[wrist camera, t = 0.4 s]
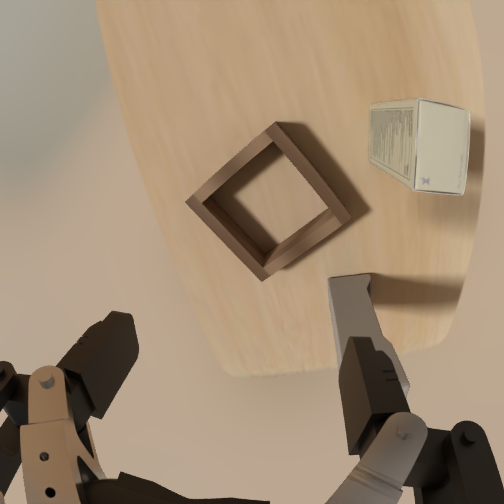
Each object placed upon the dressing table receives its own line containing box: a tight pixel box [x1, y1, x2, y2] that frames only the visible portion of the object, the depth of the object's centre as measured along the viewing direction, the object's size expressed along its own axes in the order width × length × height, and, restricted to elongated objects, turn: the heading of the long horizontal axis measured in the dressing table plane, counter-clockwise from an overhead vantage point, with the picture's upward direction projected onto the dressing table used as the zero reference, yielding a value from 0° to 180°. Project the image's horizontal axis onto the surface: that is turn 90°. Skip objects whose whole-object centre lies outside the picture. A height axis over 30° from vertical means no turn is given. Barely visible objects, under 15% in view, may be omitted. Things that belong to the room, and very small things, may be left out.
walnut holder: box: [185, 122, 352, 282], centre depth 29 cm, size 11×11×3 cm
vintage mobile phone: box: [328, 274, 410, 415], centre depth 23 cm, size 4×5×25 cm
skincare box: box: [369, 98, 470, 196], centre depth 20 cm, size 6×4×12 cm
